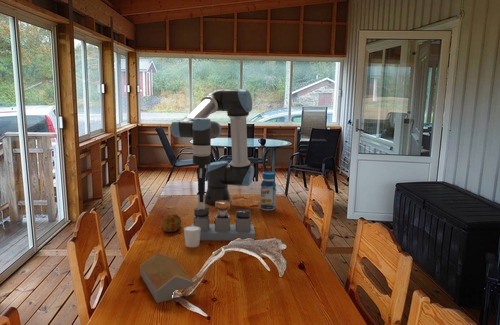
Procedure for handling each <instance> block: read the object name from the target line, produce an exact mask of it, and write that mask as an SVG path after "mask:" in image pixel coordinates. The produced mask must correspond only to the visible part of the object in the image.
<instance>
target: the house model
mask: <svg viewBox="0 0 500 325" xmlns="http://www.w3.org/2000/svg"><path fill="white" fill-rule="evenodd" d="M140 276H141V278H142V280H143V282H144V284H145V285H146V287H147V289H148V290H149V292H150V294H151V295H152V297H153V299H154V300H155V303H157V304H159V303H164V302H167V301H172V300H173V299H172V295H173V292H174V291H175V290H181V289H185V288H188V287H190V286H193V285H194V284H195V285H196V282H195V281H194V280H193V278H192V277H191V276H190V275H189V273H188V272H187V271H186V270H185V268H183V266H182V265H181V264H180V263H179V262H178V260H177V259H176V258H174V257H171V256H169V255H166V254H163V253H161V252H156V253H155V254H154V255H152V256H150V257H149V258H148V259H147V260H145V261H144V262H142V263H141V264H140ZM192 280H193V281H194V282H193V281H192ZM195 294H196V289H195V290H194V291H193V293H192V294H191V295H190V296H193V295H195Z"/></svg>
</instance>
